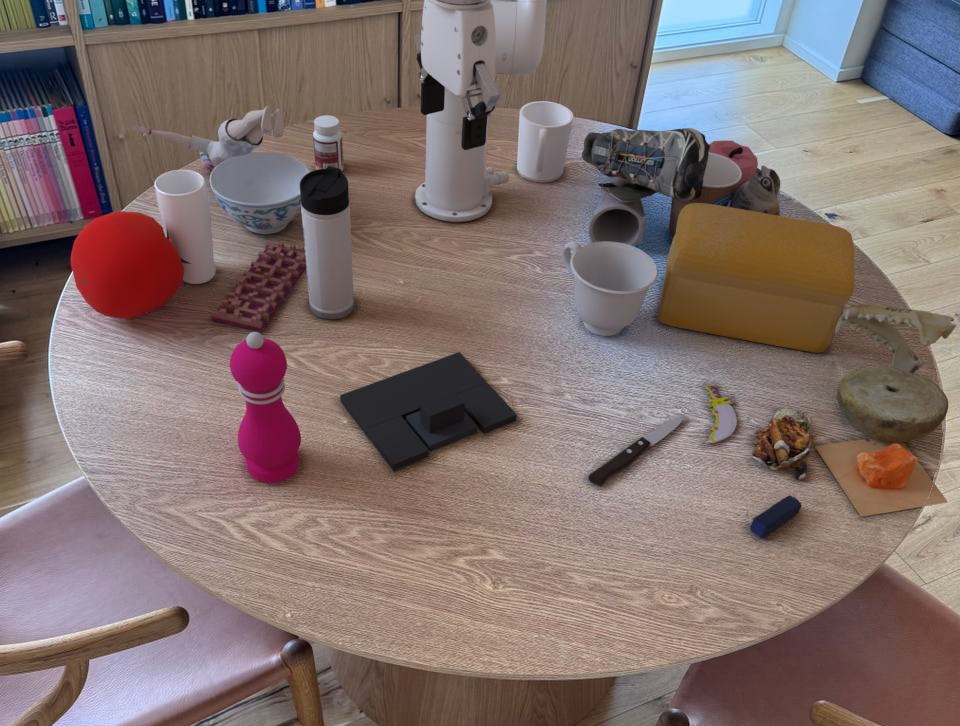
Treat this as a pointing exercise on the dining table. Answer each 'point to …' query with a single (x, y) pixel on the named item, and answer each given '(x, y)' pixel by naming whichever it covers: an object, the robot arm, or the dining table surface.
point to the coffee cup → (710, 187)
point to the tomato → (126, 265)
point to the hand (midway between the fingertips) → (452, 129)
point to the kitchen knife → (633, 451)
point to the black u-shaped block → (404, 393)
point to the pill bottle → (327, 143)
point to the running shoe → (649, 162)
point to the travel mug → (327, 242)
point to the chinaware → (259, 189)
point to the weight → (891, 403)
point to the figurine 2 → (758, 193)
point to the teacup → (608, 283)
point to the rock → (880, 476)
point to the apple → (737, 157)
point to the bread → (757, 277)
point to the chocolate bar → (262, 287)
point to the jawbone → (888, 335)
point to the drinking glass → (188, 221)
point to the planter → (618, 219)
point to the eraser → (775, 516)
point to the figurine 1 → (229, 136)
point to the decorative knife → (721, 416)
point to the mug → (543, 140)
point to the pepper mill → (265, 410)
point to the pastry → (784, 442)
